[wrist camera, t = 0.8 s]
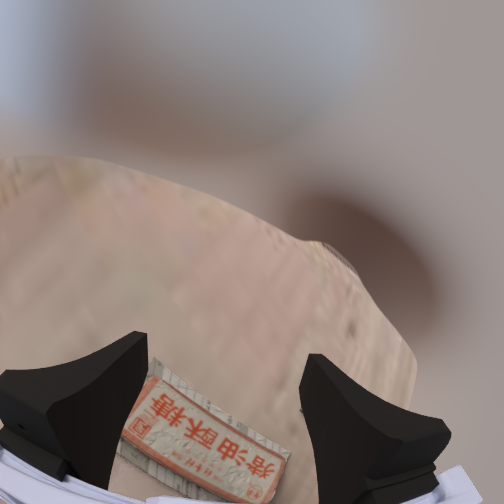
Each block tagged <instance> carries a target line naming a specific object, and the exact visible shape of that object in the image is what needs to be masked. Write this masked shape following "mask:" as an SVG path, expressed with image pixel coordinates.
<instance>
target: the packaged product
mask: <svg viewBox="0 0 504 504" xmlns="http://www.w3.org/2000/svg"><path fill="white" fill-rule="evenodd" d="M148 367H149V370H148V373H147V376H146V380H145V382H144V385H143V388H142V390H141V392H140V394H139V396H138V398H137V400H136V402H135V404H134V406H133V408H132V410H131V412H130V414H129V417H128V419H127V421H126V423H125V425H124V428H123V431H122V434H121V437H120V440H119V443H118V447H117V450H116V452H118V453H119V454H120V455H122V456H123V457H124V458H126V459H127V460H129V461H130V462H132V463H133V464H134V465H136V466H137V467H139V468H140V469H142V470H143V471H145V472H146V473H148V474H150V475H151V476H153V477H154V478H156V479H157V480H159V481H161V482H162V483H164V484H166V485H167V486H169V487H171V488H173V489H175V490H177V491H178V492H180V493H182V494H184V495H186V496H188V497H190V498H192V499H196V500H203V501H212V502H222V503H236V504H268V503H269V502H270V501H271V500H272V499H273V496H274V494H275V492H276V487H277V485H278V483H279V480H280V477H281V476H282V474H283V472H284V469H285V464H286V462H287V458H288V457H289V455H290V454H291V452H289V451H287V450H286V449H284V448H282V447H281V446H279V445H277V444H276V443H274V442H272V441H270V440H268V439H266V438H265V437H263V436H261V435H260V434H258V433H257V432H255V431H253V430H252V429H250V428H249V427H247V426H245V425H244V424H242V423H241V422H239V421H238V420H236V419H234V418H233V417H232V416H230V415H229V414H227V413H226V412H224V411H223V410H221V409H220V408H218V407H216V406H214V405H212V404H211V402H210V401H208V400H207V399H206V398H204V397H203V396H202V395H201V394H199V393H198V392H197V391H195V390H194V389H192V388H191V387H190V386H188V385H187V384H186V383H184V382H183V381H182V380H181V379H179V378H178V377H177V376H176V375H175V374H173V373H172V372H171V371H170V370H168V369H167V368H166V367H165V366H164V365H163V364H162V363H160V362H159V361H158V360H157V359H156V358H153V359H152V360H151V361H150V363H149V364H148Z"/></svg>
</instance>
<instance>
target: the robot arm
mask: <svg viewBox="0 0 504 504" xmlns="http://www.w3.org/2000/svg"><path fill="white" fill-rule="evenodd" d="M148 370H149V367H148V345H147V333H142V332H138V331H133V332H131V333H129V334H128V335H126V336H124V337H122V338H121V339H119V340H117V341H115V342H114V343H112V344H110V345H108V346H106V347H104V348H102V349H100V350H98V351H96V352H94V353H92V354H90V355H88V356H85V357H83V358H80V359H77V360H75V361H72V362H68V363H65V364H60V365H56V366H52V367H47V368H40V369H30V370H5V371H4V372H3V373H2V374H1V375H0V419H1V421H2V423H3V424H4V426H3V428H2V429H1V430H0V498H1V499H2V500H3V501H4V502H6V503H7V504H236V503H222V502H212V501H203V500H196V499H189V498H183V497H173V496H164V495H162V496H155V497H150V498H147V499H146V501H145V502H143V501H139V500H135V499H132V498H128V497H125V496H122V495H119V494H116V493H113V492H110V491H108V485H109V480H110V475H111V470H112V466H113V461H114V458H115V454H116V450H117V447H118V443H119V440H120V437H121V434H122V431H123V428H124V425H125V423H126V421H127V419H128V417H129V414H130V412H131V410H132V408H133V406H134V404H135V402H136V400H137V398H138V396H139V394H140V392H141V390H142V388H143V385H144V382H145V380H146V376H147V373H148ZM299 394H300V401H301V407H302V411H303V414H304V418H305V421H306V425H307V428H308V431H309V435H310V438H311V442H312V446H313V450H314V457H315V464H316V472H317V481H318V495H319V504H480V503H481V502H482V500H483V499H482V498H481V496H480V495H479V493H478V491H477V490H476V488H475V487H474V485H473V484H472V482H471V480H470V479H469V478H468V476H467V474H466V473H465V471H464V470H463V468H462V467H461V465H457V466H455V467H452V468H450V469H448V470H446V471H443V472H441V473H440V474H438V475H437V476H435V475H434V473H433V471H434V470H435V469H436V466H435V465H434V463H433V462H434V461H435V460H436V459H437V457H438V456H439V455H440V453H441V452H442V451H443V450H444V449H445V447H446V446H447V445H448V443H449V440H450V438H451V431H450V430H449V428H448V427H447V426H446V424H445V423H444V421H443V420H442V419H438V418H433V417H428V416H424V415H420V414H417V413H413V412H410V411H407V410H405V409H402V408H399V407H397V406H395V405H393V404H390V403H388V402H386V401H384V400H382V399H381V398H379V397H377V396H375V395H374V394H372V393H370V392H369V391H367V390H366V389H364V388H363V387H362V386H360V385H359V384H357V383H356V382H355V381H354V380H352V379H351V378H350V377H349V376H347V375H346V374H345V373H344V372H343V371H341V370H340V369H339V368H338V367H337V366H336V365H334V364H333V363H332V362H331V361H330V360H329V359H327V358H326V357H325V356H324V355H322V354H309V356H308V359H307V362H306V366H305V369H304V373H303V376H302V379H301V382H300V385H299Z"/></svg>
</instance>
